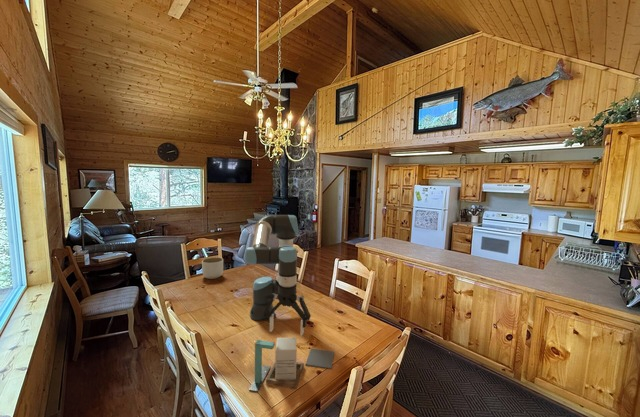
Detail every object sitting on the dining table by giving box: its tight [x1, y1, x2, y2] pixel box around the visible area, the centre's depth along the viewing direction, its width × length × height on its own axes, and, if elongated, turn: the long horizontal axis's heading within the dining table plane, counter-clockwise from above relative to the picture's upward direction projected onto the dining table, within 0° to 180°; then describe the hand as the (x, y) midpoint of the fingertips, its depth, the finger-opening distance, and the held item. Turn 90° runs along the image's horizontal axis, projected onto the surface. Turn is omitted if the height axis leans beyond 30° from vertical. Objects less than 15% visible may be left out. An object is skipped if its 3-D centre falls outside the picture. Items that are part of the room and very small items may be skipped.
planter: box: [201, 256, 224, 280], centre depth 228 cm, size 17×17×15 cm
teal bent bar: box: [254, 339, 276, 383], centre depth 110 cm, size 8×2×17 cm, turn 80°
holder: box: [265, 361, 305, 390], centre depth 116 cm, size 13×13×2 cm
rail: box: [248, 364, 271, 393], centre depth 113 cm, size 4×14×1 cm, turn 170°
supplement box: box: [274, 337, 298, 382], centre depth 115 cm, size 9×9×15 cm
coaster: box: [305, 347, 335, 370], centre depth 127 cm, size 12×12×1 cm
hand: (286, 332), depth 114 cm, fingers open, 13 cm apart
